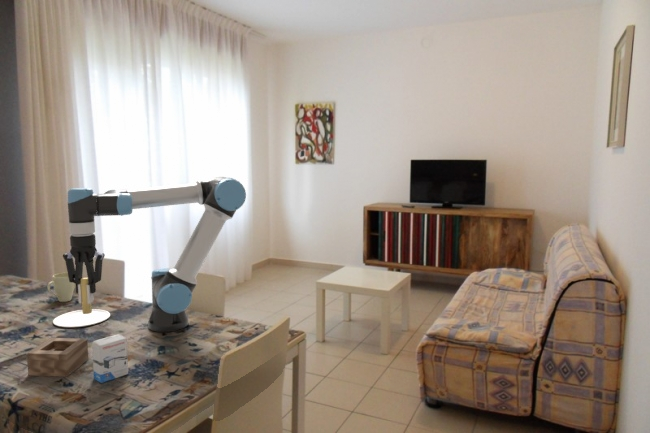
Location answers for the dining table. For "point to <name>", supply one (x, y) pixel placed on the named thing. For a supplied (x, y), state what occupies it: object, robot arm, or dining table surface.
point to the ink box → (110, 358)
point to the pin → (85, 297)
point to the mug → (62, 287)
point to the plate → (81, 318)
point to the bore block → (57, 357)
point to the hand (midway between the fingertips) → (86, 302)
